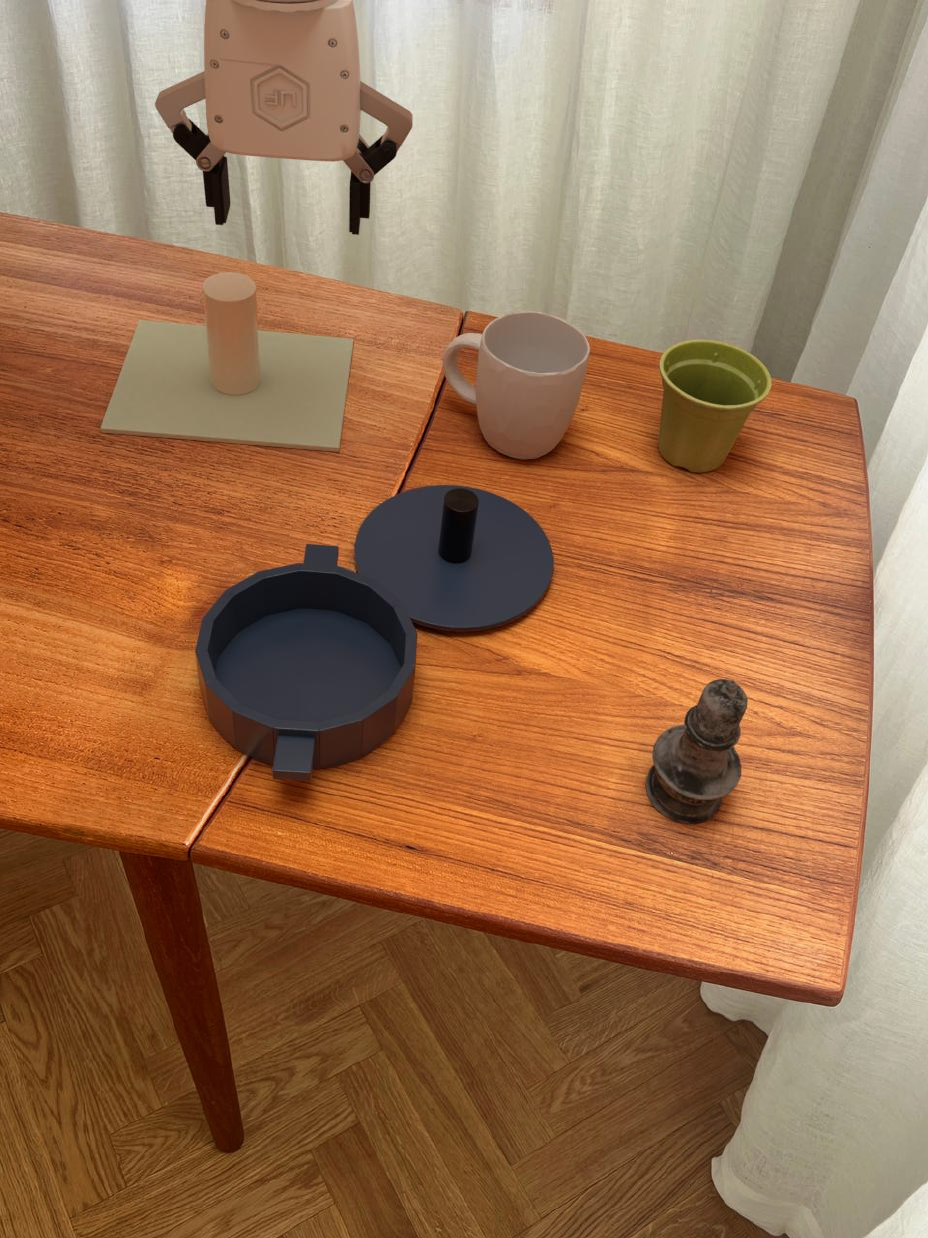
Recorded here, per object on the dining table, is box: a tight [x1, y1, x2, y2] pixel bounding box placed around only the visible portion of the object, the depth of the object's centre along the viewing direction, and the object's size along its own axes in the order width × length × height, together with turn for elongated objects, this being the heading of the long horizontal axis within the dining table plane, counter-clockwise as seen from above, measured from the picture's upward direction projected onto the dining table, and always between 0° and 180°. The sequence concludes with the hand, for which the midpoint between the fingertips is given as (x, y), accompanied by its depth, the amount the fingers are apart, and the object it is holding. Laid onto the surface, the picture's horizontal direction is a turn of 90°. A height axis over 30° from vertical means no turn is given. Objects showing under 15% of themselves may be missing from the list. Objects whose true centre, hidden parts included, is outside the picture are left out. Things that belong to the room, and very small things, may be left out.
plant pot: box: [657, 339, 772, 473], centre depth 96 cm, size 9×9×9 cm
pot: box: [194, 543, 418, 782], centre depth 76 cm, size 15×20×4 cm
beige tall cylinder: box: [201, 271, 261, 395], centre depth 96 cm, size 4×4×10 cm
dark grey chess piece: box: [644, 678, 748, 825], centre depth 71 cm, size 6×6×12 cm
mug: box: [442, 310, 591, 460], centre depth 95 cm, size 13×9×10 cm
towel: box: [99, 319, 355, 453], centre depth 99 cm, size 20×16×1 cm
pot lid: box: [353, 484, 555, 633], centre depth 85 cm, size 16×16×7 cm
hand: (289, 220), depth 82 cm, fingers open, 9 cm apart
